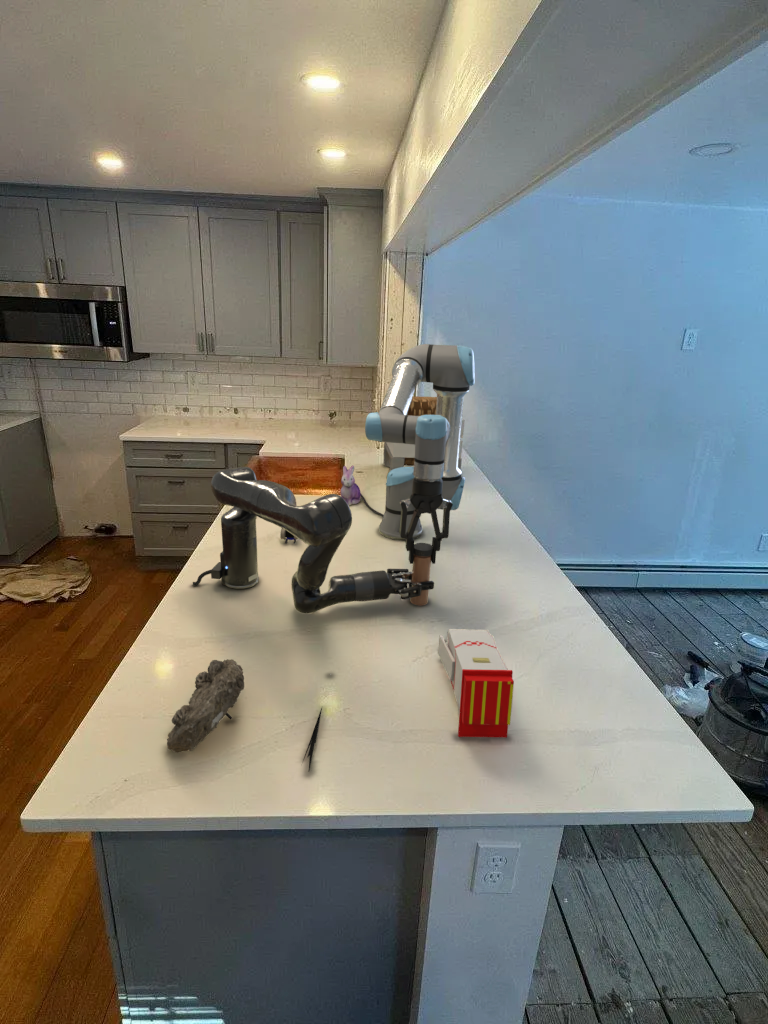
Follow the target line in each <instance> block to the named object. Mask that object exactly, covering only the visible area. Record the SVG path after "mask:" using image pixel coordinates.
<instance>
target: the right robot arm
mask: <svg viewBox="0 0 768 1024" xmlns="http://www.w3.org/2000/svg"><path fill="white" fill-rule="evenodd" d="M475 370H476V369H475V353H474V350H473V348H472V347H470V346H464V345H455V344H454V345H453V344H432V343H431V344H430V343H423V344H418V345H415V346H412V347H411V348H409V349H407V350H406V351H404V352H403V353H402V354H401V355H400V356H399V357H398V358H397V359H396V360H395V362H394V364H393V367H392V370H391V375H392V378H391V381H390V383H389V385H388V388H387V390H386V393H385V396H384V398H383V401H382V403H381V405H380V408H379V411H376V412H369V413H368V414H367V415H366V418H365V425H364V431H365V437H366V439H367V440H369V441H373V442H378V443H384V442H391V443H404V444H414V445H415V457H414V466H404V467H400V468H396V469H393V470H391V471H390V470H389V472H388V473H387V475H386V482H385V504H384V505H385V507H384V508H385V509H384V513H381V512H379V511H378V510H375V509H374V508H373V507H371V506H370V505H369V503H368V502H367V500H366V498H365V497H364V495H363V494H362V493H361V496H360V499H361V500H362V501H363V503H364V505H365V506H366V507H367V508H368V509H369V511H371V512H372V513H374V514H376V515H378V516H380V517H382V519H381V522H379V525H378V533H379V534H380V535H381V536H382V537H385V538H387V539H389V540H395V541H405V550H406V552H408V562H409V564H410V565H412V564H413V556H414V544H415V539H418V538H420V537H421V536H422V535H423V525H422V524H421V516H422V514H429V515H430V517H431V522H432V526H433V531H434V535H435V536H432V537H431V545H432V546H433V554H432V557H431V565H432V564H433V565H435V564H436V559H437V552H440V551H441V544H442V541H443V540H444V539H448V538H449V535H450V534H449V533H450V520H451V519H450V516H451V511H456V510H458V509H459V508H460V504H461V501H462V496H463V493H464V492H463V491H464V486H465V483H466V477H465V476H462V475H463V474H462V469H461V470H460V469H459V468H458V457H459V446H460V439H461V438H460V434H461V423H462V419H463V410H464V399H465V395H467V394H468V393H469V392H470V387H472V386H474V385H475V382H476V381H475V380H476V376H475V373H476V371H475ZM421 383H431V384H432V390H433V391H434V393H435V394H436V397H437V402H436V415H422V416H411V415H407V413H408V410H409V406H410V403H411V400H412V397H413V396H414V394H415V391H416V388H417V386H418V385H419V384H421ZM437 510H442V528H440V525H439V519H438V513H437ZM441 529H442V530H441Z"/></svg>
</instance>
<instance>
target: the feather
mask: <svg viewBox="0 0 768 1024" xmlns="http://www.w3.org/2000/svg"><path fill="white" fill-rule="evenodd" d="M329 675H330V676H331V675H332V674H331V673H330V674H329ZM322 710H323V707H321V708H320V710H319V713H318V716H317V719H316V723H315V725H314V728H313V731H312V733H311V737H310V739H309V742H308V745H307V748H306V751H305V754H304V757H303V760H302V763H301V767H302V765H303V763H304V761H305V758H308V759H309V760H308V762H307V763H308V764H307V766H308V771H310V770H311V766H312V765H311V764H312V760H313V757H315V756H314V755H315V751H316V749H315V746H317V739H318V733H319V729H320V722H321V717H322V712H323V711H322ZM313 754H314V755H313ZM306 755H307V757H306Z"/></svg>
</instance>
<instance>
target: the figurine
mask: <svg viewBox="0 0 768 1024" xmlns="http://www.w3.org/2000/svg"><path fill="white" fill-rule="evenodd" d="M354 471H355V465H354V464H353V465H351V466H350V467H349V468H347V466H346V465H343V467H342V477H341V480H340V482H341V484H342V486H341V488H340V496H341V497H342V498H343V499H344V500H345V501H346V502H347V504H348V506H351V505H356V504H359V503H360V502H361V494H362V492H361V488H360V486H359V485H358V484H357V483H356V479H355V476H354Z"/></svg>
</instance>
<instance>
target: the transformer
mask: <svg viewBox="0 0 768 1024" xmlns="http://www.w3.org/2000/svg"><path fill="white" fill-rule="evenodd" d="M436 402H437V396H415V395H413V397H412V400H411V403H410V406H409V410H408V413H407V415H411V416H422V415H436ZM464 429H465V419H464V418H462V423H461V434H460V446H459V457H458V468H459V469H460V470H461V471H462V461H463V460H462V453H463V442H464V441H463V440H462V439H463V438H464V431H465V430H464ZM414 457H415V445H414V444H404V443H391V442H383V466H384V467H388V468H389V472H390V471H391V470H393V469H396V468H400V467H405V466H406V467H414Z"/></svg>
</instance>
